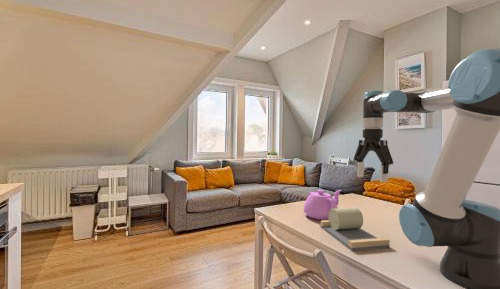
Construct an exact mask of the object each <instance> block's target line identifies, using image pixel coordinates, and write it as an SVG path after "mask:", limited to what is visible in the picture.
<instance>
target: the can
mask: <svg viewBox="0 0 500 289" xmlns="http://www.w3.org/2000/svg"><path fill="white" fill-rule="evenodd" d="M328 219H329V223H330V226H331V227H332V229H334V230H339V229H352V228H361V229H362V227H363V224H364V217H363V213H362V211H361V210H360V208H359V207H356V206H353V207H343V208H341V207H340V208H338V207H337V209H333V208H332V209H330V211H329V214H328Z"/></svg>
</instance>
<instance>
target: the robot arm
mask: <svg viewBox="0 0 500 289" xmlns="http://www.w3.org/2000/svg"><path fill="white" fill-rule="evenodd" d="M362 104H363V106H362V107H363V108H362V110H363V111H362V115H363V116H362V128H363V129H362V138H364V139H359V140H358V145H357V148H356V151H355V154H354V157H353V160H354V161H356V169H357V174H356V175H357V177H358V178H360V177H361V178H363V177H364V173H365V172H364V171H365V168H364V167H365V162H364V160H365V159H366V156H367V155H368V154H369V152H370V151H371V152H374V153H375V154H376V156H377V158H378V159H379V161H380V163H381V164H380V167H379V168H380V169H379V173H380V174H379V183H388V174H389V171H390V170H389V168H390V165H393V164H394V160H393V156H392V155H391V152H390V148H389V146H388V145H389V144H388V140H386V139H385V140H384V139H382V138H383V134H384V133H383V132H384V131H383V130H384V129H382V128H383V127H384V113H416V114H433V113H435V112H436V111H441V110H442V111H443V110H450V109H454V111H455V112H456V113H455V117H454V120H453V122H452V124H451V127H450V129H449V132H448V133H447V136H446V137H445V138H446V139H445V141H444V144H443V146H442V148H441V150H440V153H439V155H438V158H437V160H436V162H435V165H434V168H433V170H432V172H431V175H430V178H429V180H428V183H427V185H426V188H425V190H423V191H421V192H420V191H419V192H418V193H416V195H415V198H414V199H413V203H411V204H410V203H407V204H404V205H402V206H401V207H400V209H399V212H398V218H399V220H398V222H399V225H400V227H401V228H400V229H401V231H402V232H403V234H404V236H405V237H406V238H407V239H408V241H409V242H411V243H412V244H414V245H416V246H417V247H418V246H419V247H427V248H432V247H433V248H435V247H447V248H446V250H445V252H444V254H443V256H442V257H441V260H440V263H439V271H440V273H441V274H442V275H443V276H444V278H446V279H448V280H450V281H451V282H453V283H455V284H457V285H459V286H461V287H464V288H466V289H500V208H498V207H496V206H494V205H491V204H487V203H482V202H480V201H474V200H470V199H466V197H467V195H468V193H469V191H470V189H471V188H472V185H473V183H474V182H475V179H476V178H477V175H478V173H479V172H480V170H481V169H482V168H481V167H482V166H483V164H484V161H485V160H486V158H487V156H488V154H489V152H490V150H491V148H492V145H493V144H494V141H495V139H496V138H497V137H498V133H499V132H500V47H498V48H485V49H479V50H476V51H474V52H472V53H470V54H469V55H468V56H467V57H464V58H463V59H461V61H459V63H457V65H456V66H455V67H454V68H453V70H452V71H451V73H450V76H449V78H448V81H447V86H444V87H443V86H442V87H439V88H434V89H430V90H426V91H422V92H409V91H408V92H404V91H402V90H400V89H394V90H388V91H386V92H384V91H382V90H369V91H366V92H365V93H364V94H363V100H362ZM381 139H382V140H381Z"/></svg>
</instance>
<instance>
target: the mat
mask: <svg viewBox="0 0 500 289" xmlns="http://www.w3.org/2000/svg"><path fill="white" fill-rule="evenodd" d="M320 228H321V229H322V230H324V231H325V232H327V233H328V234H329V235H330V236H332V237H333V238H334V239H336V240H337V241H338V242H340V243H341V244H342V245H344V246H345V247H346V248H347V249H348V250H350V251H353V252H354V251H363V250H375V249H389V248H390V239H389V238H387V237H376V236H375V235H373V234H371V233H370V232H368V231H366V230H365V229H362V227H361V228H352V229H339V230H334V229H332V227H331V226H330V223H329V220H320Z"/></svg>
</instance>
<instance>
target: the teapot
mask: <svg viewBox="0 0 500 289" xmlns="http://www.w3.org/2000/svg"><path fill="white" fill-rule="evenodd" d="M316 191H317V192H314V191H310V192H308V195H307V198H306V200H305V202H304V204H303V212H304V213H305V215H306V216H308V217H309V218H311V219H315V220H319V221H323V220H329V219H328V214H329V211H330V209H332V208H333V209H337V208H338V206H339V194H340V192H342V189H337V190H336V191H335V192H334V195H333V196H332V195H331V194H330V193H327V192H325V190H323V189H317V190H316Z"/></svg>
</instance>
